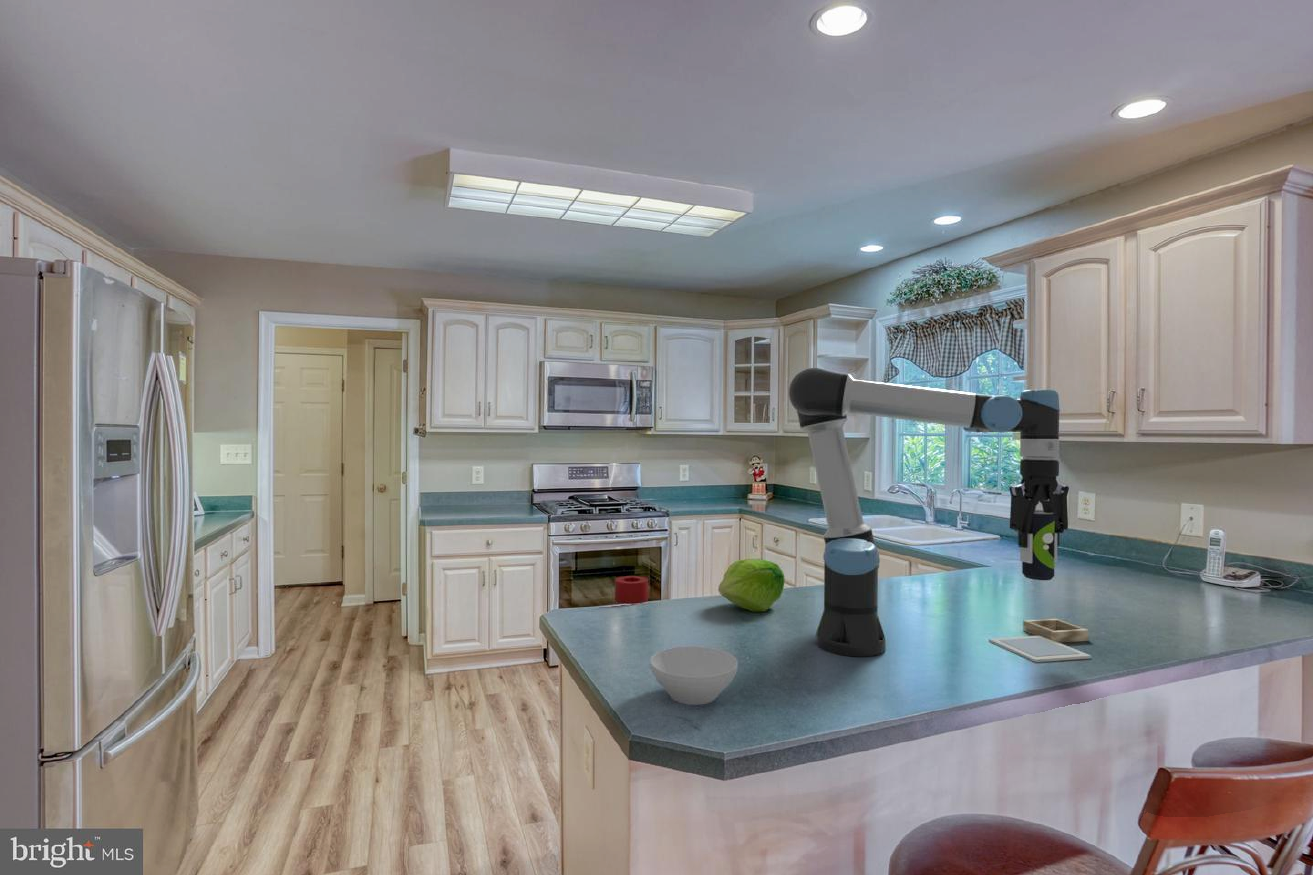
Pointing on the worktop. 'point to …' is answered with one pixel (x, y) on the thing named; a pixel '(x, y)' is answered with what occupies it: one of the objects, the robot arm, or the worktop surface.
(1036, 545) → the beverage can
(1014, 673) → the worktop surface
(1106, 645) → the worktop surface
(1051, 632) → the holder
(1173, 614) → the worktop surface
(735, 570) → the lettuce
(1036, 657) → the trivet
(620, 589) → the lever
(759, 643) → the worktop surface
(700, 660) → the bowl
